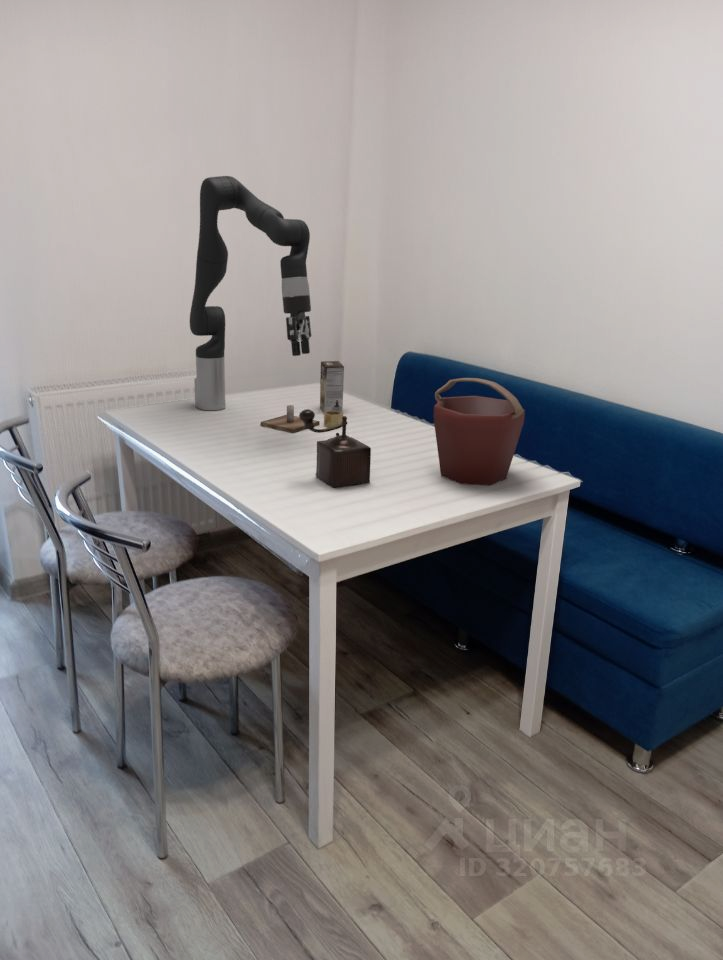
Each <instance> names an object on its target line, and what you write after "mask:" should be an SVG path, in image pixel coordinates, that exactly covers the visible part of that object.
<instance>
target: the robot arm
mask: <svg viewBox="0 0 723 960" xmlns="http://www.w3.org/2000/svg"><path fill="white" fill-rule="evenodd" d="M232 209H237V210H240V211H243V212H244V213H245V217H246V219H247V221H248V222H249V224H251V226H253V227H254V228H256V229H258V230H259V231H261V232H262V233H264V234H265V235H266V237H268V238H269V240H271V242H272V243H273V244H275V245H277V246H280V247H290V252H289V254H288V255H285V256H283V257H281V258H280V262H279V263H280V275H281V294H282V295H281V296H282V298H281V299H282V307H283V313H284V314H290V316H287V317H286V318H285V322H286V323H285V324H286V325H285V326H286V335H287V337H286V338H287V341H289V342H290V344H291V354H292V356H293V357H296V356H297V357H298V356H299V357H300V356H301V354H303V355H307V354H308V355H309V354H310V353H311V350H310V339H311V338H312V330H311V329H312V328H311V321H310V320H311V319H310V316H309V315H306V313H309V312H311V311H312V306H311V305H312V304H311V294H310V293H311V292H310V285H309V280H308V271H307V257H308V251H309V247H310V246H309V245H310V240H311V239H310V238H311V237H310V236H311V233H310V229H309V226H308V224H307V223H306V222H305V221H304V220H302V219H297V218H296V219H294V218H293V219H291V218H285V217H284V215H283V213H281V212H280V211H279V210H278V209H276V208H275V207H273V206H271V205H270V204H267V203H266V202H264V201H263V200H261V199H259V198H258V197H257V196H256V195H255V194H253V193H252V191H250V190H249V189H248V188H247V187H246V186H245V185H244V184H243V183H242V182H240V181H239V180H238V179H237V178H236V177H233V176H230V175H222V176H221V175H220V176H210V177H206V178H205V179H204V180H202V182H201V185H200V191H199V233H198V244H197V245H198V246H197V251H196V254H197V255H196V262H195V263H196V264H195V281H194V289H193V290H194V291H193V296H192V301H191V307H190V312H189V313H190V314H189V329H190V333H192V334H193V336H199V337H203V336H205V337H206V336H211V338H210V339H209V340H208V341H207V342H205V343H202V344H200V345H198V346H197V347H196V348H195V367H196V368H195V369H196V372H195V373H196V378H194V379H193V380H194V406H195V407H196V408H197V409H198V410H203V411H222V410H223V409H225V408H226V375H225V374H226V373H225V372H226V371H225V370H226V369H225V367H226V366H225V364H226V363H225V349H226V348H225V347H226V314H225V311H224V309H223V308H222V307H221V306H219V305H217V306H214V305H213V306H211V305H209V306H206V305H207V302H208V299H209V298H210V296H211V294H212V293H213V291H214V290H215V289H216V288H217V287H218V285H219V284H221V281H223V279H224V277H225V276H226V273H227V269H228V261H229V251H228V248H227V245H226V243H225V240H224V239H223V237H222V235H221V233H220V231H219V227H218V220H219V219H218V217H219V212H220V211H227V210H232ZM195 407H194V408H195Z"/></svg>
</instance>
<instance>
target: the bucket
mask: <svg viewBox="0 0 723 960" xmlns="http://www.w3.org/2000/svg"><path fill="white" fill-rule="evenodd" d="M459 382H461V383H463V382H468V383H469V382H472V383H478V384H482V385H485V386H488V387H490V388H492V389H493V390H495V391H496V392H497V393H498V394H500V395H501V396H502V397H504V398H505V399H501V398H500V399H499V398H493V397H486V396H480V395H467V396H465V395H463V396H449V397H441V395H440V394H441V393H444V392H446V391H448V390H450V389H451V388H452V387H453V386H454V385H456V384H457V383H459ZM434 399H435V400H436V402H437V403H436V404H435V405H434V406H433V423H434V424H433V425H434V431H435V432H434V433H435V440H436V446H437V455H438V462H439V471H440V477H443V478H445V479H447V480H449V481H453V482H455V483H457V484H460V485H469V486H470V485H473V486H474V485H475V486H492V485H495V484H497V482H498V483H500V482H502V481H504V480H506V479H507V478H508V474H509V471H510V469H511V468H510V467H511V465H512V461H513V459H514V455H515V452H516V449H517V445H518V442H519V439H520V435H521V433H522V429H523V426H524V424H525V423H524V422H525V415H526V409H524V408H523V406H522V405H521V403H520V402H519V400H518V398H517V397H516V396H515V395H514V394H513V393H512V392H510V391H509V390H507V389H506V388H505V387H504V386H502V385H500V384H499V383H497V382H495V381H492V380H488V379H483V378H477V377H461V378H453V379H449V380H448V381H447V382H446V383H445V384H444V385H443V386H441V387H440V388H438V389H437V390H436V391H435V392H434ZM499 481H500V482H499Z"/></svg>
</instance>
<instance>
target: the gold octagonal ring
mask: <svg viewBox="0 0 723 960" xmlns="http://www.w3.org/2000/svg"><path fill="white" fill-rule="evenodd" d="M343 416H344V413H343V412H339V411H326V412H323V426H324V427H326V428H330V427H333V426H337V425H339V424H341V423H342V421H343V420H342V417H343Z"/></svg>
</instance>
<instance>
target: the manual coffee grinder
mask: <svg viewBox="0 0 723 960" xmlns="http://www.w3.org/2000/svg"><path fill="white" fill-rule="evenodd" d="M298 417H300V420H301V421H302V422H303V423H304V429H305V430H309V431H310V432H313V433H319V434H321V433H327V432H331V431H335V430H338V429H340V428H342V430H341V431H342V432H341V434H340V433H339V432H336V433H335V436H334V437H330V438H328V439H325V440H318V441H316V471H315V477H317V479H319V480H320V481H322V482H323V483H324V484H325V485H327V486H329V487H331V488H333V489H339V488H340V489H341V488H347V487H353V486H360V485H364V484H369V483H370V481H371V480H370V479H371V461H372V459H371V457H372V455H371V454H372V449H371V447H370V446H368V445H367V444H365V443H363V442H362V441H360V440H359V439H356V438H354V437H352V436H349V435H347V434H346V433H347V425H348V421H347V420H348V417H347V416H346V415H343V417H342V420H343V421H342V423H341V424H339V425H337V426H333V427H326V428H321V429H319V428H315V427H316V426H315V425H314V423H313V420H314V419H315V417H316V415H315V412H314V411H313V410H312V409H310V408H309V409H308V408H307V409H303V410H302V411H301V412H299V415H298Z"/></svg>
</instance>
